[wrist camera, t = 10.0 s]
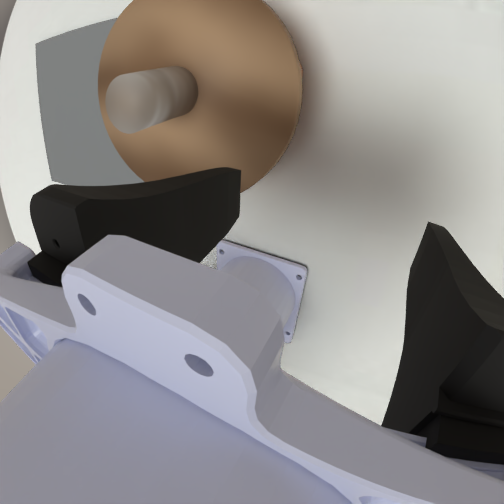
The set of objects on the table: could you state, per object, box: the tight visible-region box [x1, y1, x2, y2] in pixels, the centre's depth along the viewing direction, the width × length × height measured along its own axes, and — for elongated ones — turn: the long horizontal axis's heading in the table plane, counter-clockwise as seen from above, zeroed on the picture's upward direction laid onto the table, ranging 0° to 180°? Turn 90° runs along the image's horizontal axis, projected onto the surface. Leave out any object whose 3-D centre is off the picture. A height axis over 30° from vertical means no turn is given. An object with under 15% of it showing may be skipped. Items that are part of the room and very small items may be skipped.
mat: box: [36, 18, 144, 186], centre depth 27 cm, size 18×18×1 cm
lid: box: [98, 0, 303, 193], centre depth 15 cm, size 14×14×5 cm
